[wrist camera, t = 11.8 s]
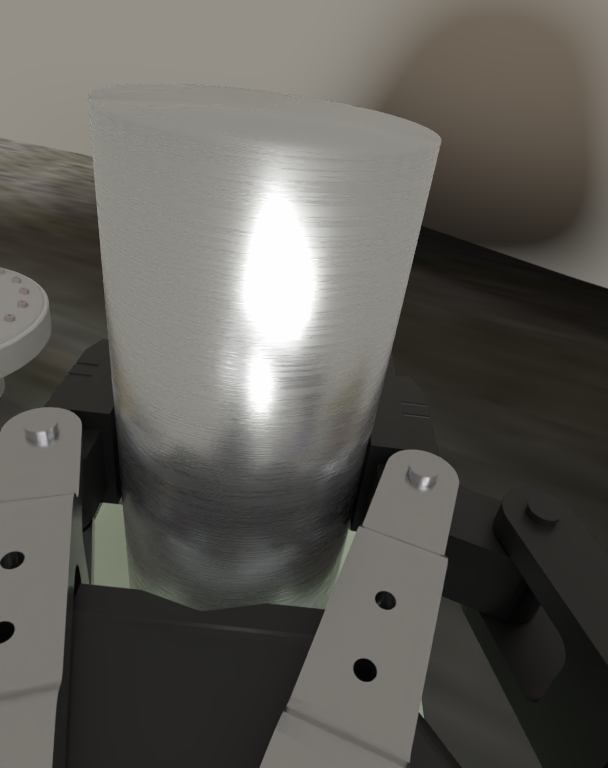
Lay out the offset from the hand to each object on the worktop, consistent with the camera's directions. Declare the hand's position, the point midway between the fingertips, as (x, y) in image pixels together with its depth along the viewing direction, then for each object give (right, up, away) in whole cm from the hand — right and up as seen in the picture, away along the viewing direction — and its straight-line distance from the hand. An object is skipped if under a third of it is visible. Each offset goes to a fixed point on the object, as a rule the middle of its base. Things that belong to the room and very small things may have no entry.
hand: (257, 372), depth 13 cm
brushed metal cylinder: (-1, -9, +3) cm, 9 cm away
